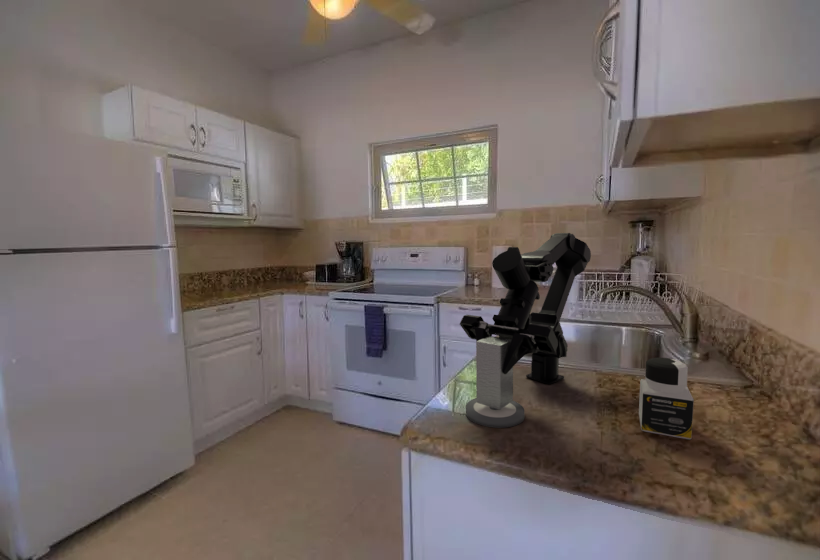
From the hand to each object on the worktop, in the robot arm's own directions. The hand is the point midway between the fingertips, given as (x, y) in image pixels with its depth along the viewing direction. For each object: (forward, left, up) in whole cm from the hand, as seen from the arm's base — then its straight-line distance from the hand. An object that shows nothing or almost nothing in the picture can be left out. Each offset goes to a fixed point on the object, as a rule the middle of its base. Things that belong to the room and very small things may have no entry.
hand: (491, 370), depth 72 cm
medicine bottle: (-20, +22, -9) cm, 31 cm away
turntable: (-1, 0, -9) cm, 9 cm away
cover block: (-1, 0, -7) cm, 7 cm away
